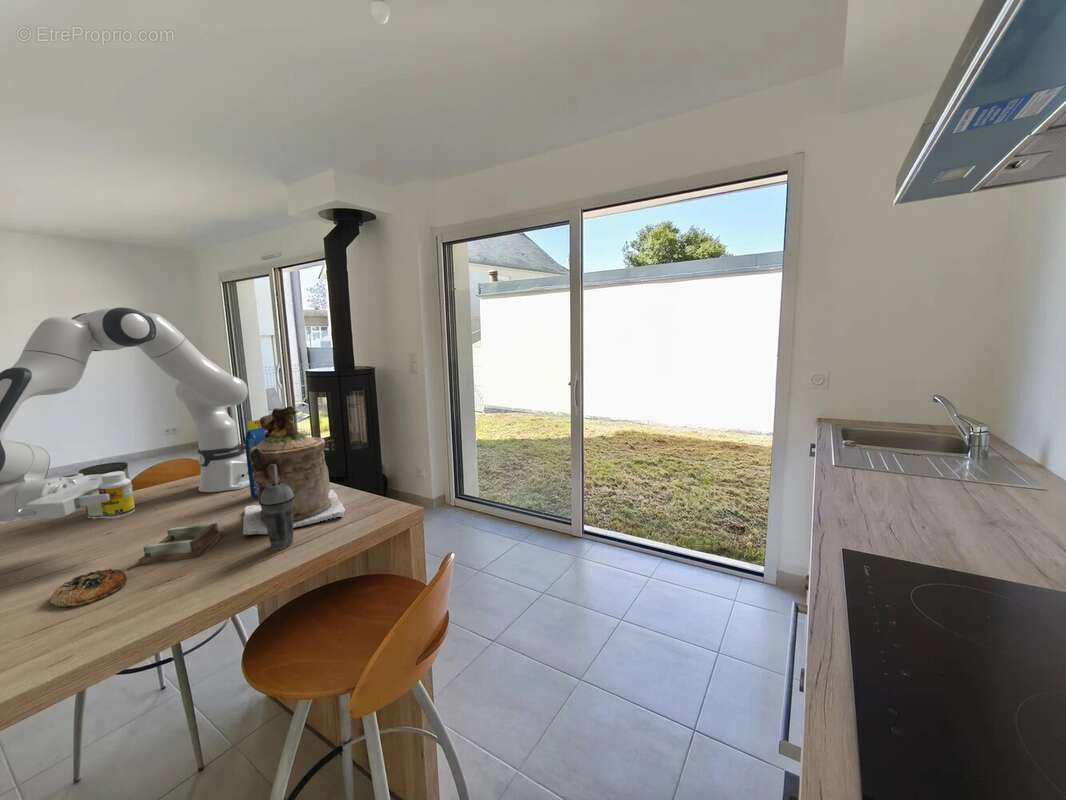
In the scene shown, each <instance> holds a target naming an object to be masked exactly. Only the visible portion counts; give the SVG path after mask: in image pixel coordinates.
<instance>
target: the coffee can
mask: <svg viewBox="0 0 1066 800" xmlns="http://www.w3.org/2000/svg"><path fill="white" fill-rule="evenodd" d="M128 465H129V463H128V462H124V461H123V462H120V461H118V462H117V461H116V462H115V461H114V462H107V463H100V464H96V465H91V466H88V467H84V468H82V469H80V470H78V474H79V473H82V474H83V475H84V476H86V475H94V474H106V473H110V472H117V471H124V472H125V477H126V478H127V479H129V480H130V481H131V479H130V474H129V473H130V472H129V469H128ZM85 508H86V509H85V510H86V514H87V516H88V517H90V518H101V517H104V516H103V512H102V506H101V503H96V504H92V505H88V506H86V507H85ZM87 516H86V517H87Z"/></svg>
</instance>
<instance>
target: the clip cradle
mask: <svg viewBox="0 0 1066 800" xmlns="http://www.w3.org/2000/svg"><path fill="white" fill-rule="evenodd" d="M223 533H224V530H219V527H218V523H217V522H215V523H208V524H207V523H206V524H199V525H188V526H186V525H185V526H179V527H171V528H169V529H167V536H166V537H164V538H163V539H162V540H160V541H159V542H158V543H153V544H150V543H149V544H145V545H144V546H143V547H142V548H143V552H144V553H143V554H144V555H143V556H141V558H139V559H138V564H139V563H143V564H148V563H147V562H151V563H158V561H160V562H166V561H165V560H168V561H174V559H176V560H182V559H183V558H185V559H192V558H191V557H193V558H198V557H197V556H200V557H201V556H203V555H204V554H205V553H206V550H207V549H208V548H209V547H210V546H211V545H212V544H213V543H214V542H215V541H216V540H217V539H218V538H219V537H220V536H222V535H223ZM224 534H225V533H224ZM223 536H224V535H223ZM223 536H222V537H223ZM219 539H220V538H219ZM219 539H218V540H219ZM218 540H217V541H218ZM217 541H216V542H217ZM216 542H215V543H216ZM215 543H214V544H215ZM214 544H213V545H214ZM213 545H212V546H213ZM212 546H211V547H212ZM211 547H210V548H211ZM210 548H209V549H210ZM209 549H208V550H209ZM208 550H207V551H208ZM183 560H184V559H183Z"/></svg>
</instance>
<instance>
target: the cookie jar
mask: <svg viewBox="0 0 1066 800" xmlns="http://www.w3.org/2000/svg"><path fill="white" fill-rule="evenodd" d="M296 413H298V410H296V409H294V407H293V405H287V406H286V407H284V408H281V407H280V408H279V407H277V408H274V409H273V410H272V413H271V414H268V415H264V416H262V417H261V418H260V419H259V420H260V424H261V427H262V428H263V429H266V430H268V432H267V433H266V435H265V439H264V440H263V441H261V442H260V443H259V444H258V445H257V446H255V447H253V448H252V449H250V451H249V458H250V461H251V462H252V466H251V467H252V471H253V472H254V475H253V478H254V479H255V482H256V483H257V484H258V485H259V494H258V499H257V501H258V505H254V504H253V505H248V506H245V507H244V508H243V511H244V515H243V517H242V519H243V523H242V524H243V526H242V527H243V529H242V534H243V536H244V537H245V536H249V535H268V531H267V526H266V522H265V517H264V513H263V511H262V508H261V505H260V497H261V494H262V492H263V491H264V489H265V488H266V487H268V486H269V485H271V484H274V483H275V473H274V465H275V464H276V467H277V481H278V483H283V484H286V485H287V486H289V487H290V488H291V490H292V491H293V495H294V497H295V498H294V505H293V529H295V528H298V527H304V526H306V525H312V524H315V523H316V524H317V523H320V521H321V522H324V520H325V521H329V520H328V519H330V520H332V519H331V518H334V519H337V518H336V517H341V516H344V515H345V513H346V508H345V507H344V505H343V503H342V502H341V501H340V500H339V499H338V495H337V492H336V491H335V490H334V489H331V486H330V484H331V483H330V476H329V474H330V473H329V468H328V465H327V463H326V460H325V451H324V448H325V445H326V441H325V439H324V438H321V437H314V436H307V435H306V434H303V433H302V432H298V431H297V430H296V428H295V422H294V421H295V419H294V416H295V414H296Z"/></svg>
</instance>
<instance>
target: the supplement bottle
mask: <svg viewBox="0 0 1066 800" xmlns="http://www.w3.org/2000/svg"><path fill="white" fill-rule="evenodd" d="M101 478H102V483H101V484H99V486H98V489H99V494H101V493H108V492H110V493H112V499H111V500H109V501H107V502H101V506H102V512H103V516H104V517H105V518H104V519H109V520H110V519H118V518H123V517H126V516H129V515H131V514H133V513H134V512H135V510H136V506H135V505H136V504H135V499H134V493H133V485H132V486H131V483H132V481H131V479H130V478H129V479H130V480H129V479H127V478H126V477H125V472H124V471H117V472H110V473H106V474H103V475H102V476H101Z"/></svg>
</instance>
